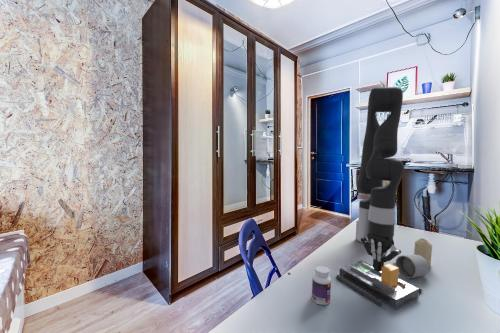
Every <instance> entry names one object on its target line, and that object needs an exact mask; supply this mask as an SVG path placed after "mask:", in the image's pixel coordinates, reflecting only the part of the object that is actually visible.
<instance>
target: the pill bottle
mask: <svg viewBox="0 0 500 333" xmlns="http://www.w3.org/2000/svg"><path fill="white" fill-rule="evenodd" d="M314 268H315V269H314V273H313V275H312V280H311V281H312V282H311V299H312V301H313V302H314V303H315V304H317V305H320V306H326V305H328V304H330V302H331V292H332V290H331V289H332V279H331V278H332V277H330V269H329V268H328V267H326V266H323V265H317V266H315V267H314Z"/></svg>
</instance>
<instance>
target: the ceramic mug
mask: <svg viewBox="0 0 500 333" xmlns="http://www.w3.org/2000/svg"><path fill="white" fill-rule="evenodd" d="M392 265H394V266H396V267H398V268H399V274H400V275H401V276H402V277H403V278H406V279H413V278H418V277H422V276H425V275H427V274H428V272H429V271H430V267H429V264H428V262H427V261H426V259H425V258H423V257H422V256H420V255H415V254H414V253H413V254H404V255H403V254H402V255H398V256H397V258H396V259H395V262H393V263H392Z"/></svg>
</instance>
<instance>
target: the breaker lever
mask: <svg viewBox="0 0 500 333" xmlns="http://www.w3.org/2000/svg"><path fill="white" fill-rule="evenodd" d="M399 274H400V273H399V268H398V267H396V266H394V265H393V264H391V263H387V264H384V266H382V273H381V281H382V282H384V283H386V284H387V285H389V286H392V285H395V284H397V283H398V278H399Z"/></svg>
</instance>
